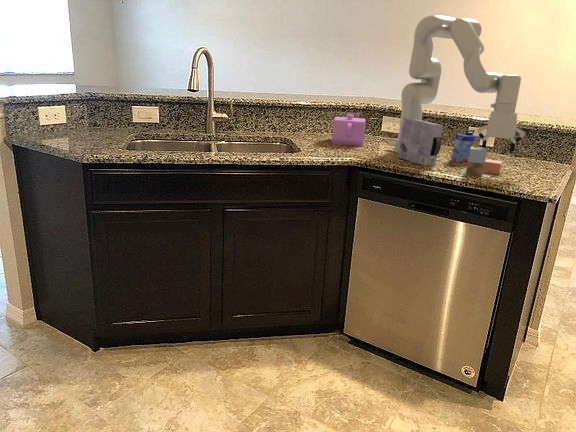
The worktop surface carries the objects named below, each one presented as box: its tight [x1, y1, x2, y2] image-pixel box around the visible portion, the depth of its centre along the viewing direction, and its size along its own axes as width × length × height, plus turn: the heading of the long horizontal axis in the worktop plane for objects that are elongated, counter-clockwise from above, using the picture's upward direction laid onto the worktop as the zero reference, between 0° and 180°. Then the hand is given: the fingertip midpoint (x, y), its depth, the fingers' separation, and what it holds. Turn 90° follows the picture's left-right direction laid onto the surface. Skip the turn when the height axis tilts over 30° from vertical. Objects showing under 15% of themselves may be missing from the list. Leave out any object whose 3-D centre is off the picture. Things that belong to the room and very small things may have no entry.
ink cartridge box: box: [450, 129, 482, 163], centre depth 204 cm, size 10×6×14 cm, turn 111°
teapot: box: [331, 113, 366, 147], centre depth 236 cm, size 15×25×14 cm, turn 171°
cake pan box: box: [397, 118, 444, 166], centre depth 199 cm, size 19×5×18 cm, turn 32°
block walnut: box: [465, 162, 485, 177], centre depth 183 cm, size 6×6×5 cm
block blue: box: [468, 146, 489, 164], centre depth 181 cm, size 6×6×5 cm
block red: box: [483, 158, 503, 175], centre depth 189 cm, size 6×6×5 cm
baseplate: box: [460, 169, 489, 178], centre depth 185 cm, size 10×7×1 cm
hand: (497, 151), depth 186 cm, fingers open, 9 cm apart
